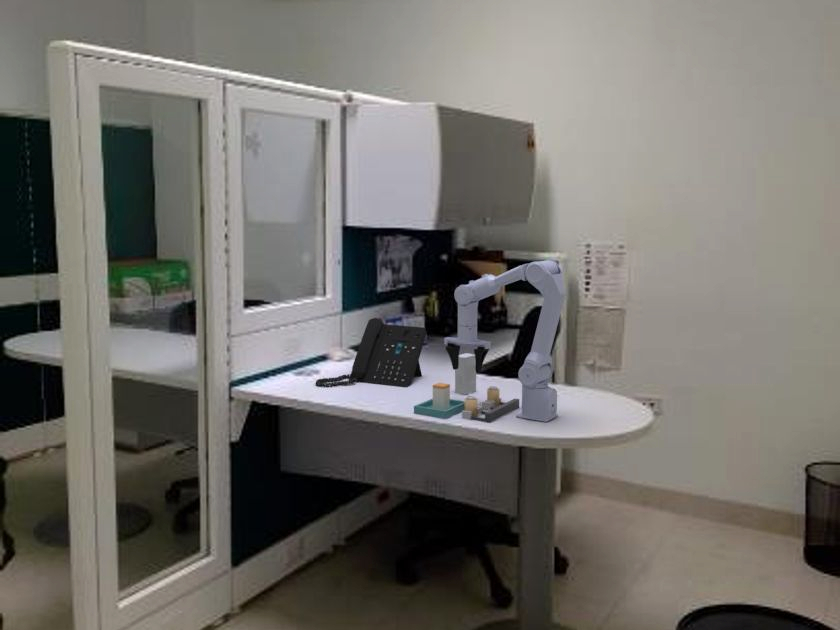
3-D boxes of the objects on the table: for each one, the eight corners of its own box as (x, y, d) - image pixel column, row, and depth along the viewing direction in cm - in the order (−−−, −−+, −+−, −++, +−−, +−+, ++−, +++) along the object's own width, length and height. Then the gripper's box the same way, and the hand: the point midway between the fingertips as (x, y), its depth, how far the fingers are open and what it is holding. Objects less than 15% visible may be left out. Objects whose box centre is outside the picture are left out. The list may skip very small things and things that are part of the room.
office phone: (310, 386, 260) (309, 325, 257) (352, 369, 285) (351, 314, 282) (391, 396, 248) (391, 332, 245) (427, 377, 274) (427, 319, 271)
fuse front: (479, 416, 225) (479, 396, 224) (473, 418, 222) (473, 399, 221) (468, 414, 227) (468, 394, 226) (462, 417, 224) (462, 397, 223)
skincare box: (465, 389, 256) (466, 352, 254) (476, 391, 253) (476, 354, 251) (454, 392, 251) (454, 355, 250) (465, 395, 249) (465, 357, 247)
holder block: (519, 407, 234) (519, 399, 234) (489, 422, 218) (489, 413, 218) (492, 403, 239) (493, 395, 238) (462, 417, 223) (462, 409, 223)
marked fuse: (449, 408, 230) (449, 384, 229) (443, 411, 227) (443, 386, 226) (438, 406, 232) (439, 382, 231) (432, 409, 229) (432, 385, 228)
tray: (467, 408, 232) (467, 401, 232) (445, 418, 222) (445, 411, 222) (436, 403, 238) (436, 396, 238) (413, 413, 227) (413, 406, 227)
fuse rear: (501, 405, 236) (501, 386, 236) (495, 408, 233) (496, 389, 233) (490, 403, 238) (490, 385, 238) (484, 406, 235) (485, 387, 235)
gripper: (495, 325, 234) (494, 370, 236) (452, 321, 241) (452, 365, 243) (484, 328, 228) (484, 375, 230) (440, 324, 235) (440, 369, 237)
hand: (466, 370), depth 236 cm, fingers open, 7 cm apart
